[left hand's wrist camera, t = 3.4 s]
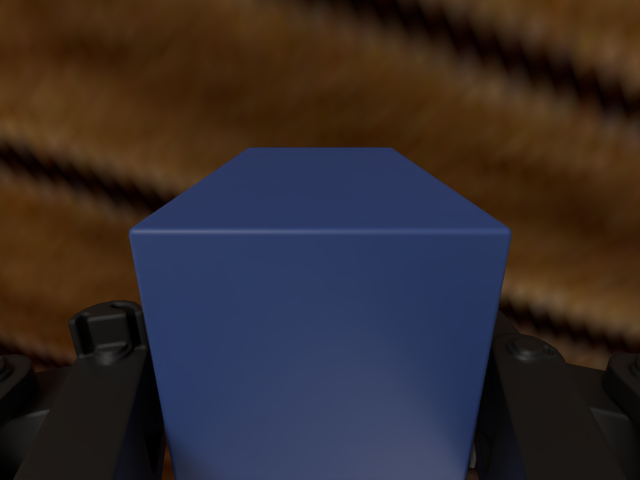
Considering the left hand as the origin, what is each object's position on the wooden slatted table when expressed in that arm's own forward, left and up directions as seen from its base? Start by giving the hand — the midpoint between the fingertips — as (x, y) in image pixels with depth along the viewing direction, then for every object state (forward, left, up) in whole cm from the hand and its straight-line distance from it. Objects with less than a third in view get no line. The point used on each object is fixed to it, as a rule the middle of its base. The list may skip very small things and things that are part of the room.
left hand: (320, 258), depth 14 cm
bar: (-3, +10, -1) cm, 10 cm away
